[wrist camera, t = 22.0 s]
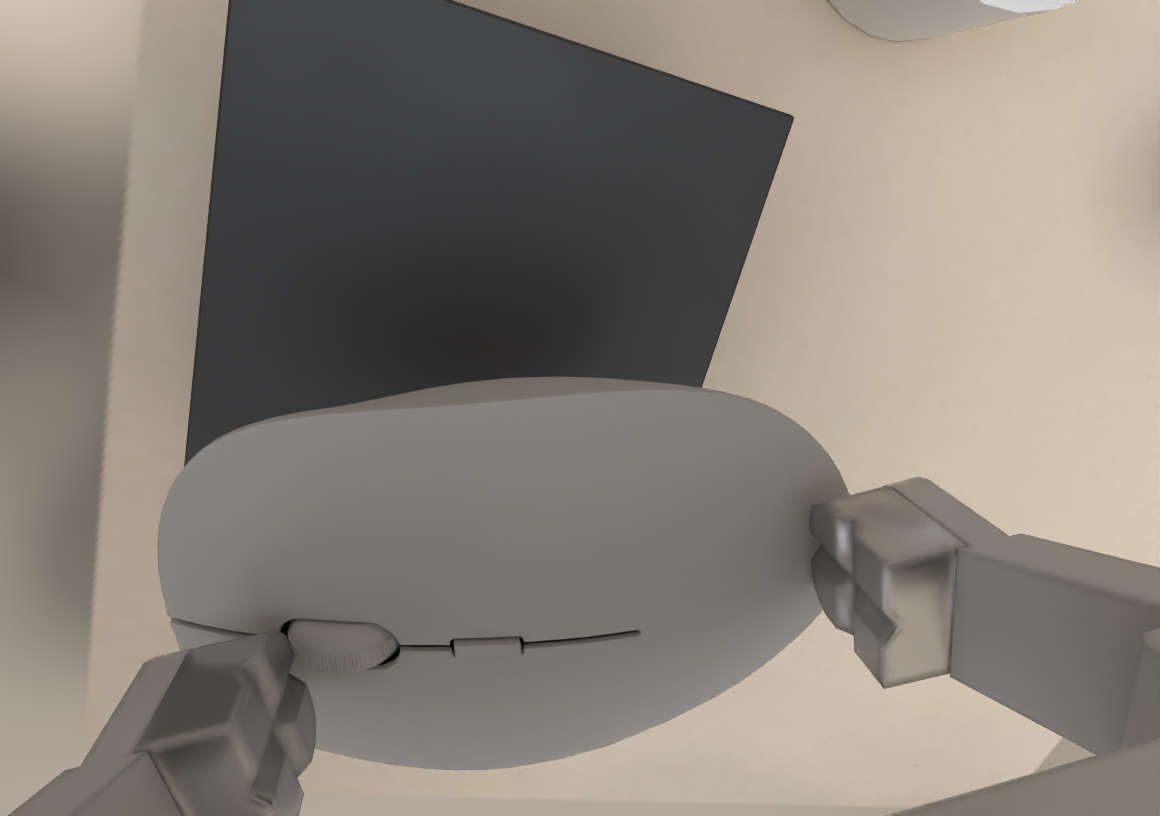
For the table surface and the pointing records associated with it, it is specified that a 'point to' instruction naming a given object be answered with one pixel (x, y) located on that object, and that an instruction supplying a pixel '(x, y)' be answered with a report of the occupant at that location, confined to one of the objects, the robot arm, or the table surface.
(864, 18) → the base with upright slab
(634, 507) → the computer mouse
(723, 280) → the cabinet
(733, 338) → the table surface
